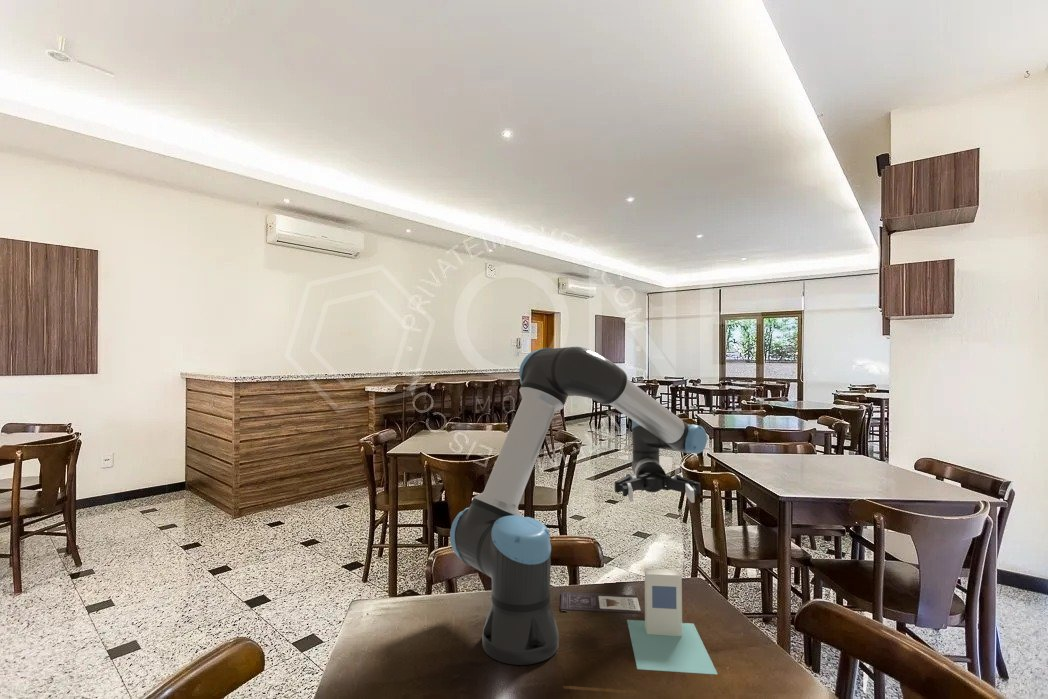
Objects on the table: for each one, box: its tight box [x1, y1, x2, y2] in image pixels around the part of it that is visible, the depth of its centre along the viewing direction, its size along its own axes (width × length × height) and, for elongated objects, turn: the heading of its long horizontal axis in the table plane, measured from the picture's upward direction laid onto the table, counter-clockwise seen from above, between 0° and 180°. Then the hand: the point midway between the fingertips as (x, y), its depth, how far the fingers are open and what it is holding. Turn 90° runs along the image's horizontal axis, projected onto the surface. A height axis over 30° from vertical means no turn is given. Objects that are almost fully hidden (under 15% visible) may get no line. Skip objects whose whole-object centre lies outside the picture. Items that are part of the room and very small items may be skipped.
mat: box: [626, 619, 719, 676], centre depth 97 cm, size 14×18×1 cm
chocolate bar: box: [559, 591, 642, 615], centre depth 114 cm, size 9×1×18 cm
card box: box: [644, 568, 683, 636], centre depth 102 cm, size 7×3×12 cm, turn 84°
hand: (661, 496), depth 112 cm, fingers open, 13 cm apart
